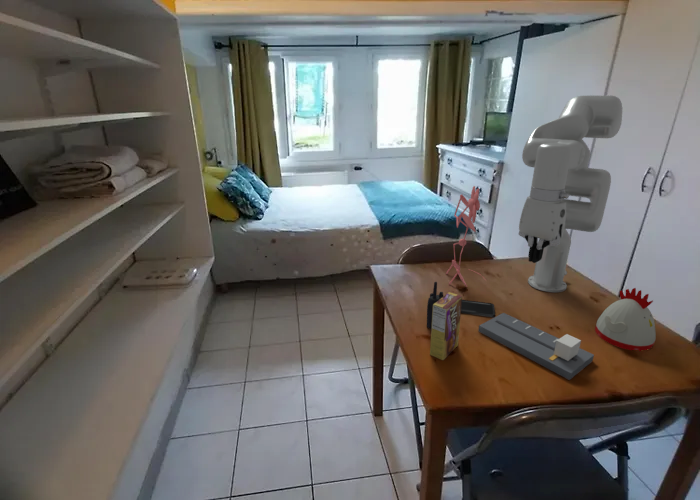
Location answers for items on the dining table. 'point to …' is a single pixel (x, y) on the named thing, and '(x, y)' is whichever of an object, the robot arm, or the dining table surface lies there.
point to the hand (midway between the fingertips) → (534, 260)
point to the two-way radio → (431, 301)
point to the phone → (477, 308)
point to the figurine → (473, 206)
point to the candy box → (445, 325)
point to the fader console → (534, 344)
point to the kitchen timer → (628, 322)
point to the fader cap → (567, 347)
